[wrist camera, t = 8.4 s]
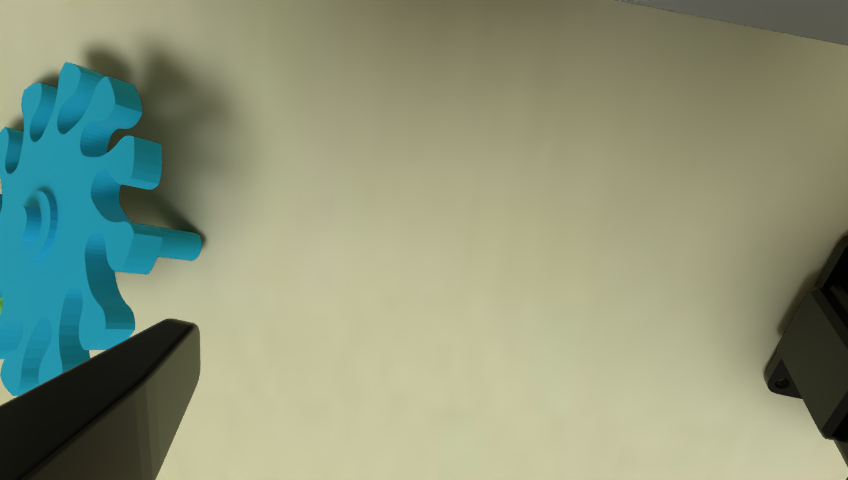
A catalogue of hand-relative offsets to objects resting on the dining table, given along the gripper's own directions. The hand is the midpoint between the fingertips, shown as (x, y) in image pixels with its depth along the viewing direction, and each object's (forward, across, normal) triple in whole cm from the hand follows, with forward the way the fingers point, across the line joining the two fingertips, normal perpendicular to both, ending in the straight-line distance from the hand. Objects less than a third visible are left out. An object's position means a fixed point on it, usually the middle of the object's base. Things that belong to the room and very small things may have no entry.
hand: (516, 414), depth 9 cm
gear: (+13, +13, +6) cm, 20 cm away
